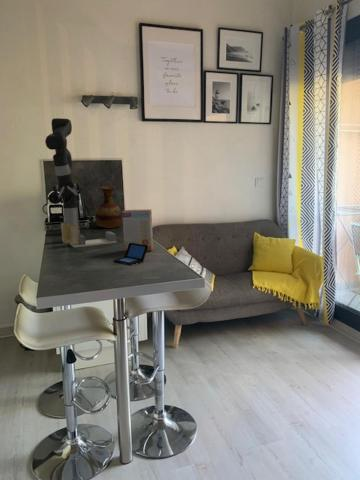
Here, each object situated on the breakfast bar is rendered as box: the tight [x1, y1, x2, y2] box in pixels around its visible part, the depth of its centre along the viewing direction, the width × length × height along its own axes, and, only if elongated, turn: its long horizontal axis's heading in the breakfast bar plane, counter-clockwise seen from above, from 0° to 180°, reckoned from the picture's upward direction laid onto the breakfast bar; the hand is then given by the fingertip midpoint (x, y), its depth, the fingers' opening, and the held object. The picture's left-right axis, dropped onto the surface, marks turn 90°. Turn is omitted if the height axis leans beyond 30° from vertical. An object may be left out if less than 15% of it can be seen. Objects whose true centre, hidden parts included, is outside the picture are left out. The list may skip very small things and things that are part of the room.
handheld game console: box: [113, 243, 148, 265], centre depth 173 cm, size 12×11×7 cm
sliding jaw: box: [70, 225, 86, 245], centre depth 214 cm, size 12×6×10 cm, turn 26°
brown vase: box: [94, 185, 123, 229], centre depth 276 cm, size 20×20×30 cm
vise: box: [69, 231, 118, 248], centre depth 218 cm, size 12×24×5 cm, turn 116°
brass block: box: [60, 222, 71, 244], centre depth 225 cm, size 5×5×11 cm
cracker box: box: [121, 208, 154, 253], centre depth 194 cm, size 14×6×21 cm, turn 84°
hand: (70, 202), depth 211 cm, fingers open, 8 cm apart
